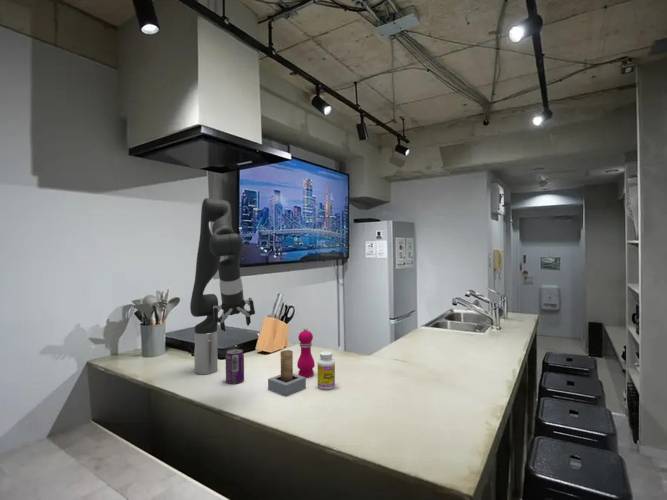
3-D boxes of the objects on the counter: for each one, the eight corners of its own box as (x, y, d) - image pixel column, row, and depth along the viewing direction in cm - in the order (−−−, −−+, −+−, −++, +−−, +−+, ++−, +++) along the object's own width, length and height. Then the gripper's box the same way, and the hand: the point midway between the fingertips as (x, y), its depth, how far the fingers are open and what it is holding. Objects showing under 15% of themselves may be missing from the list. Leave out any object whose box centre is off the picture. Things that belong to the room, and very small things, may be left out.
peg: (278, 389, 136) (278, 352, 136) (287, 385, 140) (287, 349, 140) (286, 392, 133) (286, 354, 133) (295, 388, 137) (295, 351, 137)
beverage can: (247, 379, 147) (247, 349, 147) (236, 385, 140) (235, 354, 140) (234, 377, 150) (233, 348, 150) (221, 383, 143) (221, 352, 143)
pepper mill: (312, 378, 147) (311, 329, 147) (295, 377, 148) (294, 328, 148) (316, 372, 154) (316, 325, 154) (300, 371, 156) (299, 325, 155)
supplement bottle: (322, 391, 134) (321, 356, 134) (314, 385, 140) (314, 352, 140) (338, 388, 137) (337, 354, 137) (330, 382, 143) (329, 349, 143)
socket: (268, 389, 136) (268, 378, 136) (288, 381, 144) (288, 371, 144) (285, 396, 130) (285, 385, 130) (305, 388, 137) (305, 377, 137)
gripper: (249, 280, 133) (253, 317, 139) (208, 287, 127) (214, 326, 134) (254, 289, 126) (257, 328, 133) (211, 297, 121) (217, 337, 127)
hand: (236, 327), depth 133 cm, fingers open, 8 cm apart
